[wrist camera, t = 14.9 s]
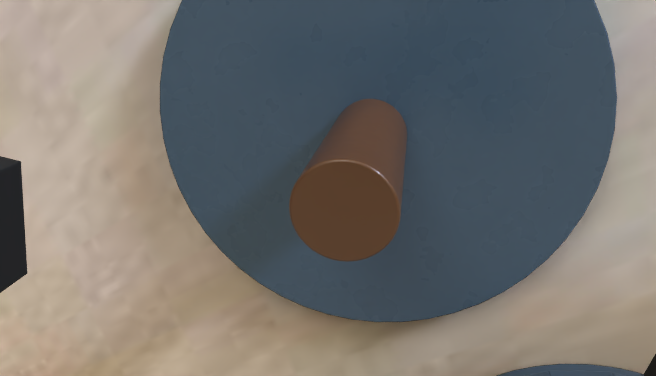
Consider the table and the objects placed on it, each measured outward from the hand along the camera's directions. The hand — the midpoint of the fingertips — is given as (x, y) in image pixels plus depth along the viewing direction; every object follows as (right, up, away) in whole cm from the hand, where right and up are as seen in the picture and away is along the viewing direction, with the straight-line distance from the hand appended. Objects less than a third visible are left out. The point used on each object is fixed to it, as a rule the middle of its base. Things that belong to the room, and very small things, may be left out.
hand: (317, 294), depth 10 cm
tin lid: (+2, +5, +11) cm, 12 cm away
